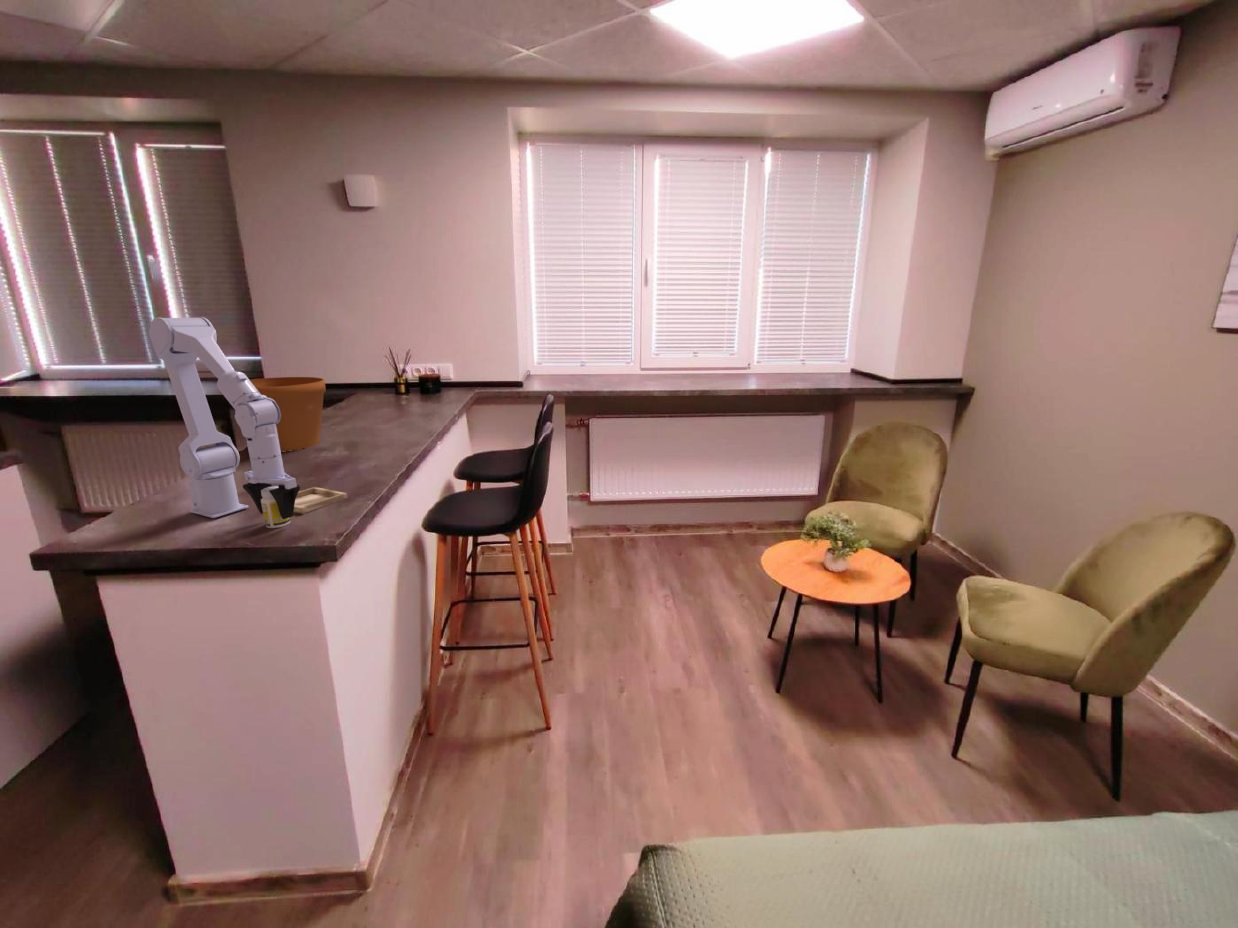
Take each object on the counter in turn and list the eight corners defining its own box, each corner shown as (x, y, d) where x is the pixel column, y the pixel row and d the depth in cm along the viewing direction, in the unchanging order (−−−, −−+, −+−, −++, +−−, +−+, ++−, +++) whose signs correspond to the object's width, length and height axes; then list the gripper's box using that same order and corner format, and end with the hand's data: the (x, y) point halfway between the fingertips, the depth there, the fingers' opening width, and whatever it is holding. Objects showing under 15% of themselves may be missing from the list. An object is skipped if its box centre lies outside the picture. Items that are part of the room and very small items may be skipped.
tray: (270, 507, 130) (269, 500, 130) (315, 493, 141) (314, 486, 140) (303, 515, 125) (302, 508, 125) (347, 499, 136) (346, 493, 135)
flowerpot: (291, 464, 167) (279, 388, 161) (216, 459, 173) (201, 386, 166) (351, 443, 194) (342, 378, 187) (285, 439, 199) (274, 376, 193)
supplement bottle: (294, 520, 123) (288, 485, 120) (283, 528, 118) (276, 492, 116) (273, 520, 122) (266, 485, 120) (260, 528, 118) (253, 492, 116)
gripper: (225, 456, 115) (237, 515, 119) (268, 464, 109) (280, 526, 113) (258, 449, 121) (269, 505, 125) (301, 456, 116) (311, 515, 119)
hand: (276, 514), depth 120 cm, fingers open, 7 cm apart
